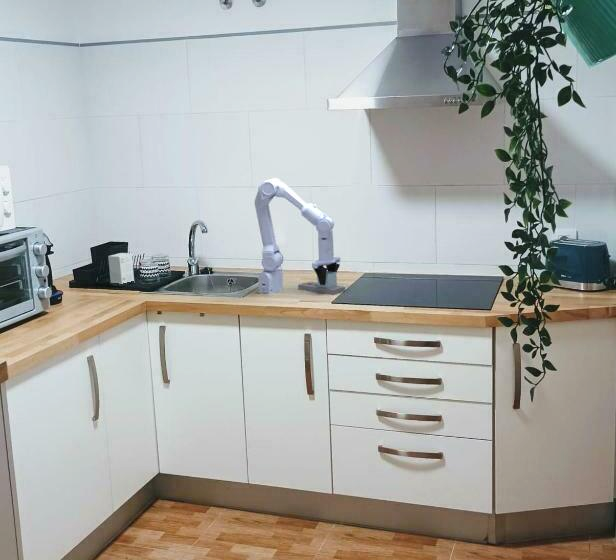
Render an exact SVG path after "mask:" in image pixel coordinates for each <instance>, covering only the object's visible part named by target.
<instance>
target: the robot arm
mask: <svg viewBox="0 0 616 560" xmlns="http://www.w3.org/2000/svg"><path fill="white" fill-rule="evenodd" d="M286 184H287V183H285V182H282V181H281V180H280V179H279V178H276V177H273V178H270V179H267V180H264V181H263V182H261V184H260V185H259V186H258V189H257V192H256V196H255V198H254V206H255V207H254V208H255V212H256V218H257V222H258V228H259V233H260V237H261V238H260V239H261V243H262V251H261V255H262V259H261V265H262V267H263V271H262V272H260V273H259V274H258V277H257V281H258V291H257V294H267V295H271V294H275V293H280V292H283V291H284V279H283V277H284V276H283V267H282V265H283V262H284V256H283V254H282V252H281V251H280V247H279V246H278V244H277V241H276V236H275V230H274V226H273V221H272V214H271V210H270V205H269V204H270V203H271V202H272V200H273V199H274V198H275V197H276V198H282V199H283V198H284V199H285V200H287V201H288V202H290V203H291V204H292V205H293V206H294V207H296V208H297V209H298V210H299V211H300V212H301V216H302V217H303V218H304V219H306V221H308V222H309V223H310V224H312V226H314V227H315V229H316V231H317V233H318V234H317V241H318V242H317V243H318V247H317V248H318V260H316V261H313V262H312V263H311V268H312V269H313V270H314V272H315V274H316V277H317V276H318V279H319V283H320V285H325V283H326V272H327V271H330V272H336V274H337V273H338V270H339V268H340V266H341V265H340V263H341V257H340V256H336V257H335V256H334V251H335V250H334V235H333V234H334V232H333V229H334V227H335V223H334V220H333V218H332V217H331V216H328V215H327V214H326V213H325V212H322V211H321V210H319V209H318V206H317V205H316V204H315V203H314V204H312V203H306V202H305V201H304V200H303V199H302V198H301V197H300V196H299V195H297V193H295V191H293V190H292V189H291V188H290V187H289V186H288V185H286Z"/></svg>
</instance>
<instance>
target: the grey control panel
mask: <svg viewBox="0 0 616 560" xmlns="http://www.w3.org/2000/svg"><path fill="white" fill-rule="evenodd" d="M297 287H298V290H300V291H307V292H311V293H312V292H313V293H320V294H326V295H331V296H335V295H338V294H341V293H345V292H346V286H342V285H337V286H336V287H333V288H330V289H328V288H322V287H318V283H317V281H316V282H315V281H306V282H303V283H299V284H298V285H297Z"/></svg>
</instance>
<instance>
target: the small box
mask: <svg viewBox="0 0 616 560" xmlns="http://www.w3.org/2000/svg"><path fill="white" fill-rule="evenodd" d="M107 259H108V266H109V267H108V268H109V270H108V271H109V277H110V278H109V279H110V284H111V283H119V284H123V283H127V282H131V281H134V282H135V277H134V274H135V273H134V264H133V254H132V253H130V252H129V253H128V252H120V253H119V252H118V253H116V254H111V255H108V256H107Z"/></svg>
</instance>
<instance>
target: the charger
mask: <svg viewBox="0 0 616 560" xmlns="http://www.w3.org/2000/svg"><path fill="white" fill-rule="evenodd" d="M316 278H317V281H316V283H318V287H322V288H328V289H330V288H333V287H336V286H338V282H337V280H338V277H337V273H336V272H330V271H327V272H326V283H325V285H320V283H319V279H318V276H317V275H316Z"/></svg>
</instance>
